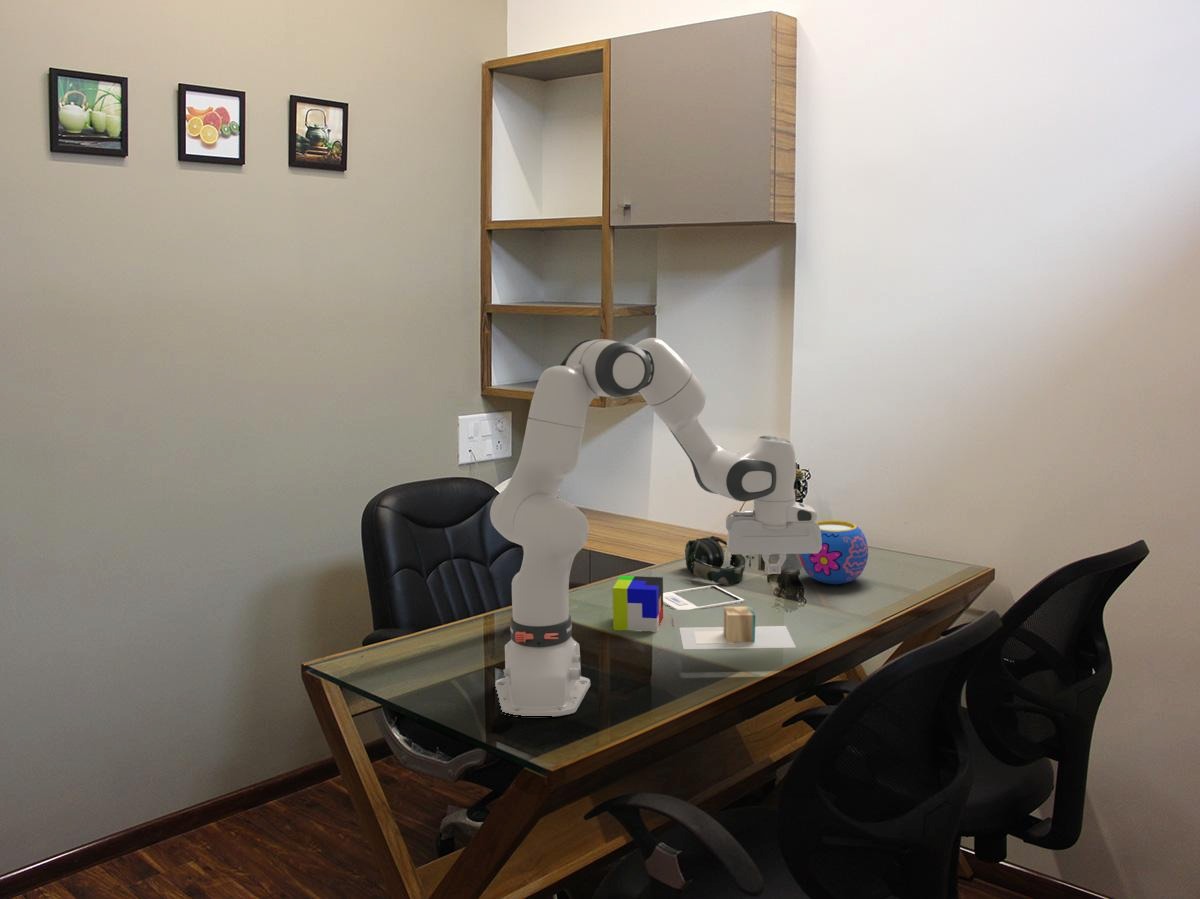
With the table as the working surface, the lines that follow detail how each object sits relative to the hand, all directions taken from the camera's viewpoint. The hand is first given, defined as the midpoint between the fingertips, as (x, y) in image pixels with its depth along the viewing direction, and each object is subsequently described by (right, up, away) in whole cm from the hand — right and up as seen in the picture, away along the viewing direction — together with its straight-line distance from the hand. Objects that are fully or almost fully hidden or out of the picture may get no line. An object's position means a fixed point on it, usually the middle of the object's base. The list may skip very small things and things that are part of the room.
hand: (773, 573), depth 239 cm
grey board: (-8, -15, +3) cm, 17 cm away
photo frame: (-14, -11, +33) cm, 38 cm away
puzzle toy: (-29, -14, +16) cm, 36 cm away
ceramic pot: (+22, -8, +46) cm, 51 cm away
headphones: (-8, -7, +54) cm, 55 cm away
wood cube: (-4, -11, +2) cm, 12 cm away
